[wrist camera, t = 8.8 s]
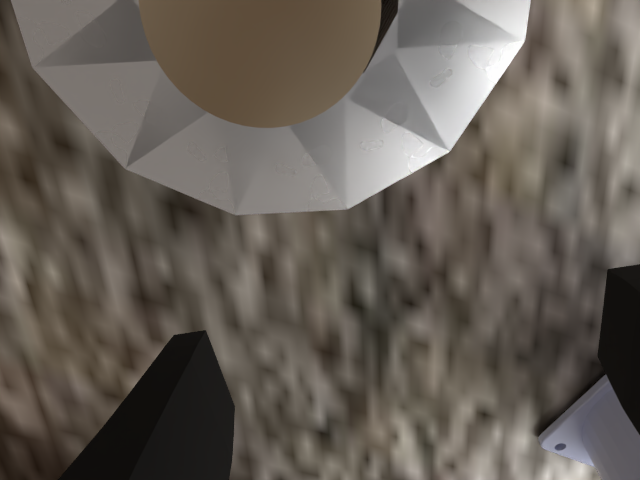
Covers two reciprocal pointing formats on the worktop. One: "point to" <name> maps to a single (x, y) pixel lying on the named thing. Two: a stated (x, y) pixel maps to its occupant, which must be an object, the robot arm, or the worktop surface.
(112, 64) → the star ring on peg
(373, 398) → the worktop surface
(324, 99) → the tan cylinder
